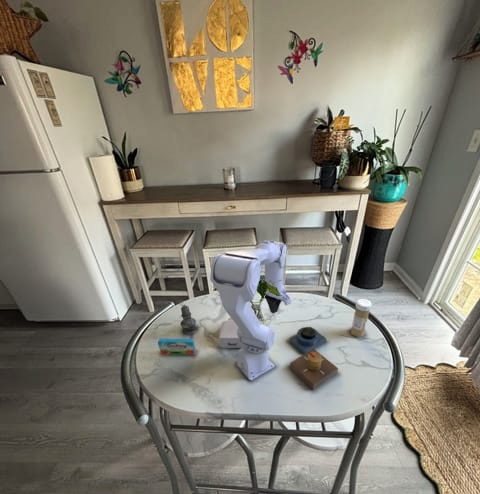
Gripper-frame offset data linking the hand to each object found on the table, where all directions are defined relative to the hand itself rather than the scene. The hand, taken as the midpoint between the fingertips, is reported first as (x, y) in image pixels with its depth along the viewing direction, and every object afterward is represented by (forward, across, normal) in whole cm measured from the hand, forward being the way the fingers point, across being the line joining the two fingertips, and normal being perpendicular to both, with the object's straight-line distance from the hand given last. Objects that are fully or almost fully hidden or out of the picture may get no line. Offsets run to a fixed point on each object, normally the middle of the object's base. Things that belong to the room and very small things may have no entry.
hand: (273, 311), depth 93 cm
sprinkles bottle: (+11, -17, -24) cm, 31 cm away
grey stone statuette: (+10, +21, +24) cm, 34 cm away
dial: (+8, -20, +1) cm, 22 cm away
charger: (+11, +9, +11) cm, 18 cm away
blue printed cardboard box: (+10, +12, +32) cm, 36 cm away
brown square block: (+10, -20, +1) cm, 23 cm away
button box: (+10, -10, -7) cm, 16 cm away
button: (+7, -10, -7) cm, 14 cm away
